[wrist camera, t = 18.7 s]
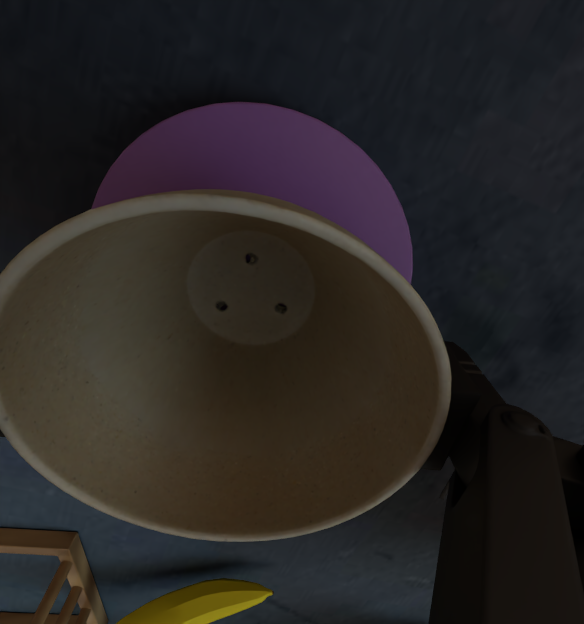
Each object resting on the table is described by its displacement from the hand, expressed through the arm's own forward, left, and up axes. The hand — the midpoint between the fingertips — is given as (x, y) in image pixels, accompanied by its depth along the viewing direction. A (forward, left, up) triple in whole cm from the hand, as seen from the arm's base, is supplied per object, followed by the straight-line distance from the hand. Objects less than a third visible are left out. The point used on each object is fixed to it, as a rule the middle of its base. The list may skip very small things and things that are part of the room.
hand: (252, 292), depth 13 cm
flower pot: (0, 0, 0) cm, 0 cm away
